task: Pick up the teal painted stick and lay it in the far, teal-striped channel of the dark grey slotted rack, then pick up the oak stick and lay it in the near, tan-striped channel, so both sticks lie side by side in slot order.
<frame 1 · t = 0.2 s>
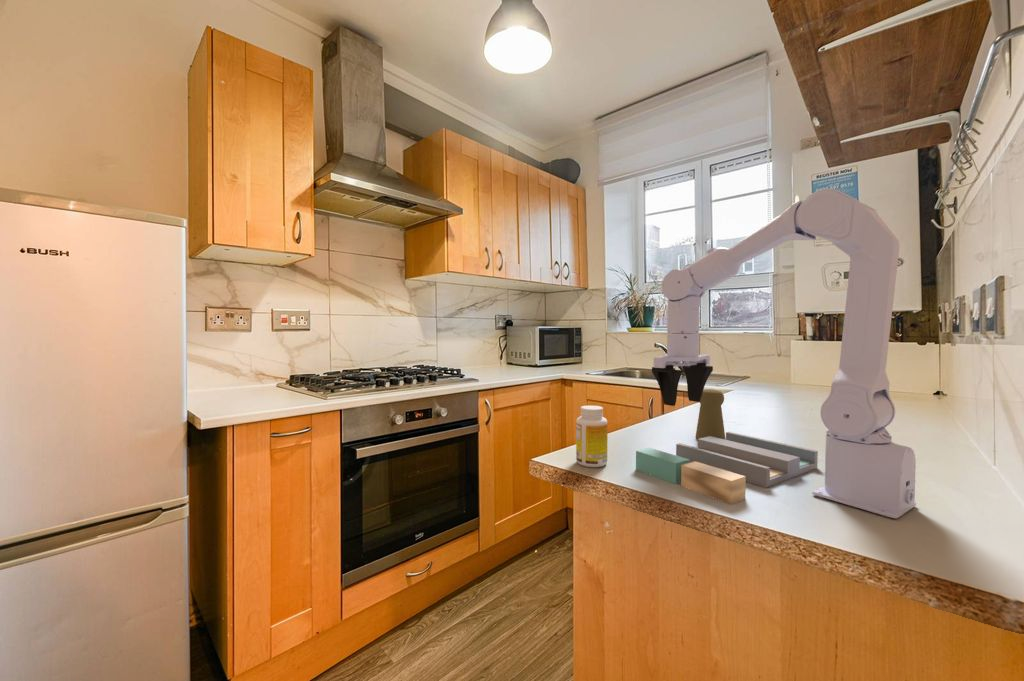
hand: (682, 403, 82), 10 cm above the countertop, tool pointing down, fingers open, 7 cm apart
rack: (744, 463, 75), on the countertop
teal stick: (661, 475, 70), on the countertop
oak stick: (711, 493, 63), on the countertop
supplement bottle: (591, 464, 76), on the countertop
cork: (710, 440, 92), on the countertop
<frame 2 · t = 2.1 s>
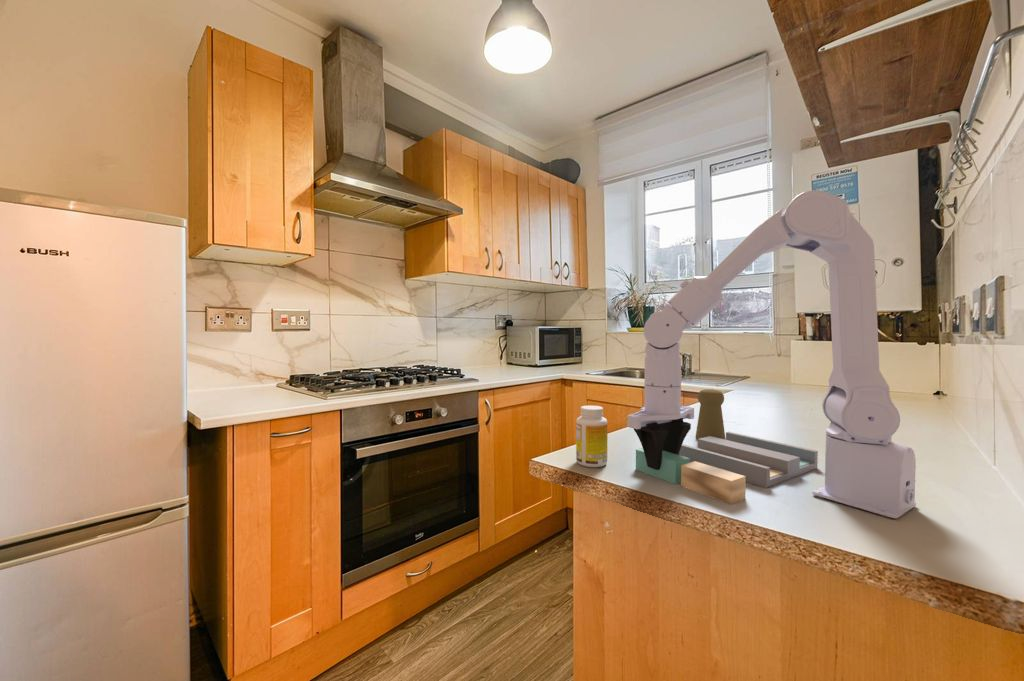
hand: (661, 465, 70), 1 cm above the countertop, tool pointing down, fingers closed on teal stick, 3 cm apart
teal stick: (661, 474, 70), on the countertop, touching gripper
everything else where it was.
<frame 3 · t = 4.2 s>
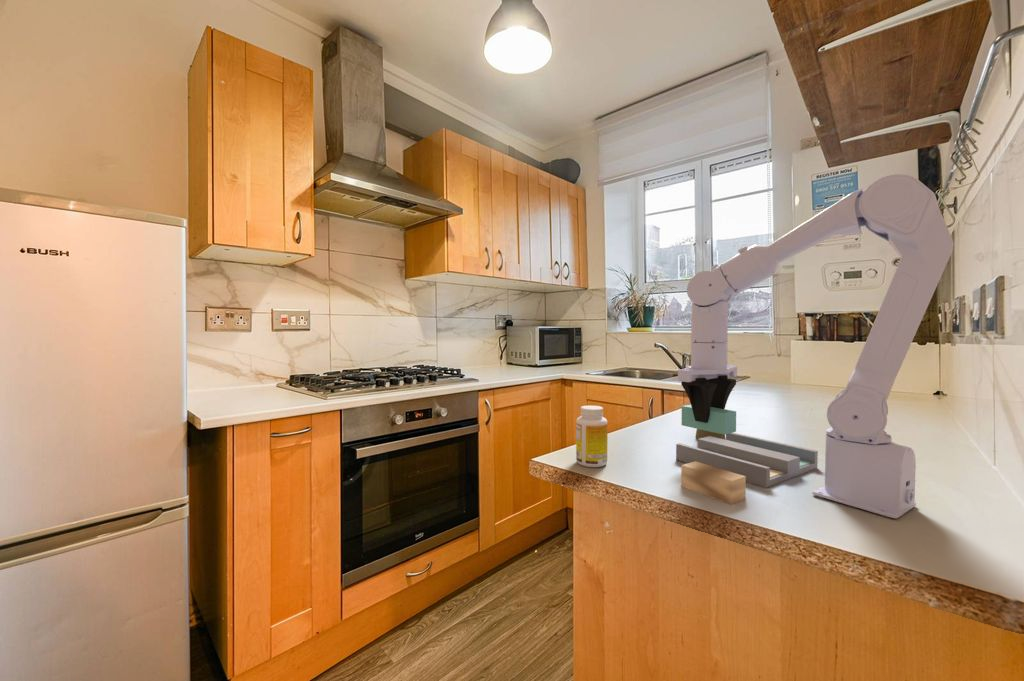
hand: (708, 420, 73), 8 cm above the countertop, tool pointing down, fingers closed on teal stick, 3 cm apart
teal stick: (707, 428, 73), point 7 cm above the countertop, touching gripper
everything else where it was.
when the fingers open (5 cm above the countertop, at t = 6.1 s): teal stick drops 3 cm, resting on rack.
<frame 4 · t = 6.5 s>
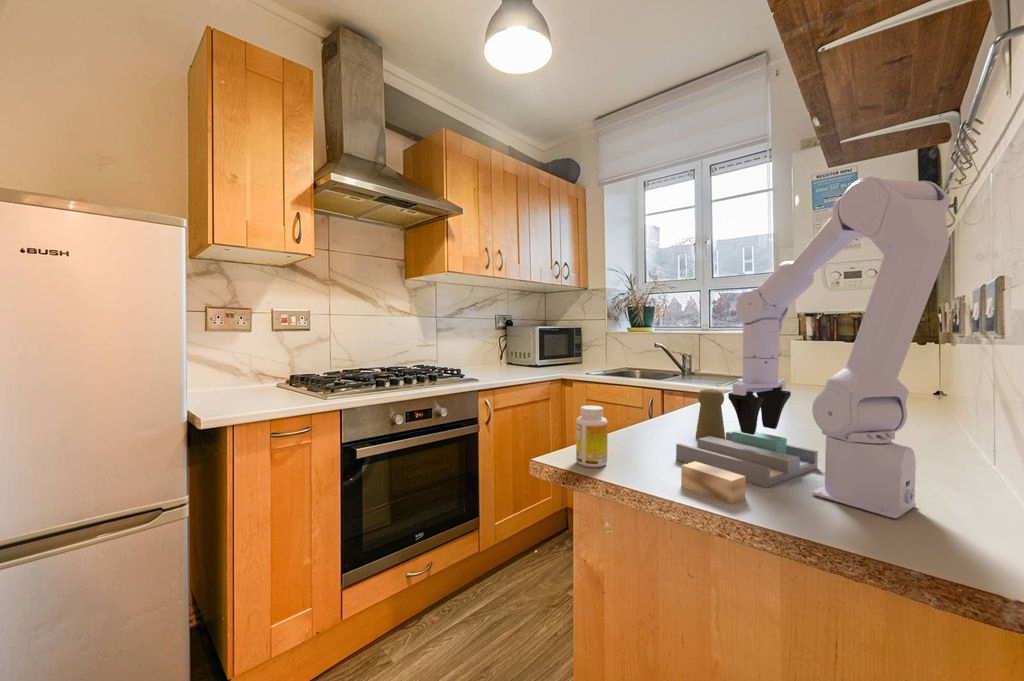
hand: (759, 430, 78), 5 cm above the countertop, tool pointing down, fingers open, 7 cm apart
teal stick: (758, 453, 78), point 1 cm above the countertop, touching rack
everything else where it was.
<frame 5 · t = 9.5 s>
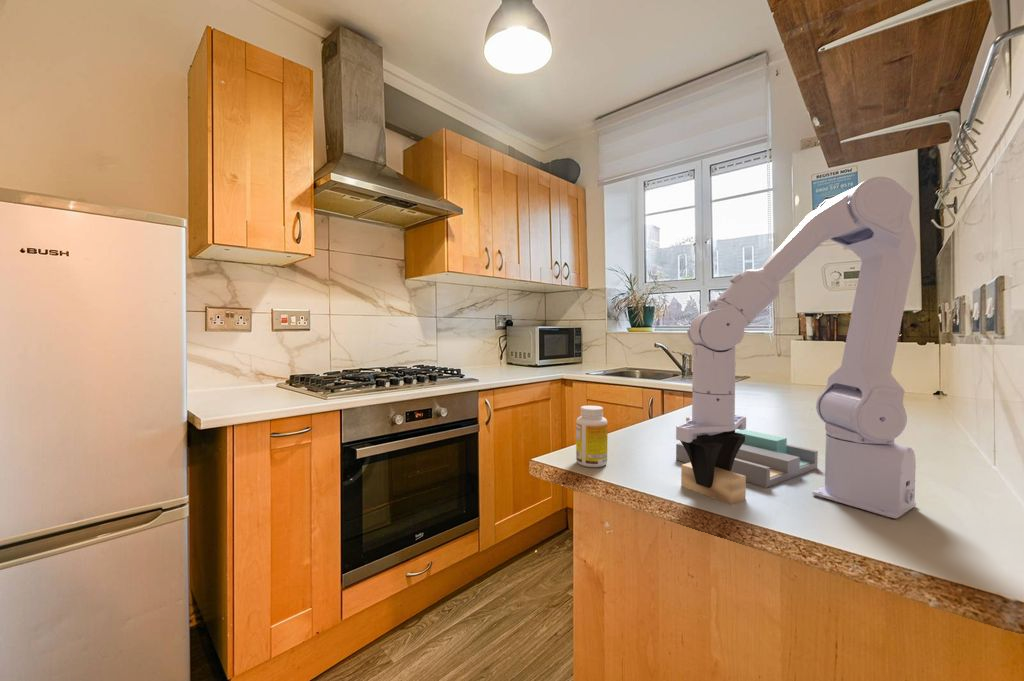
hand: (712, 482, 62), 1 cm above the countertop, tool pointing down, fingers closed on oak stick, 3 cm apart
oak stick: (712, 493, 62), on the countertop, touching gripper
everything else where it was.
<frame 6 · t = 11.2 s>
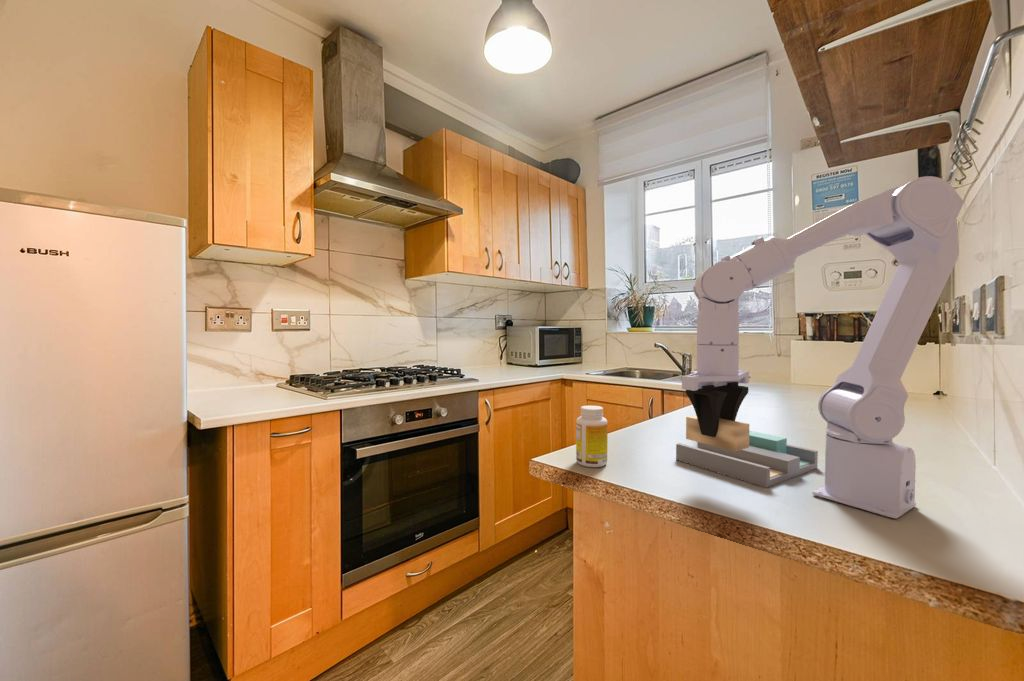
hand: (716, 433, 64), 8 cm above the countertop, tool pointing down, fingers closed on oak stick, 3 cm apart
oak stick: (716, 443, 64), point 7 cm above the countertop, touching gripper
everything else where it was.
when the fingers open (5 cm above the countertop, at t = 12.9 s): oak stick drops 3 cm, resting on rack.
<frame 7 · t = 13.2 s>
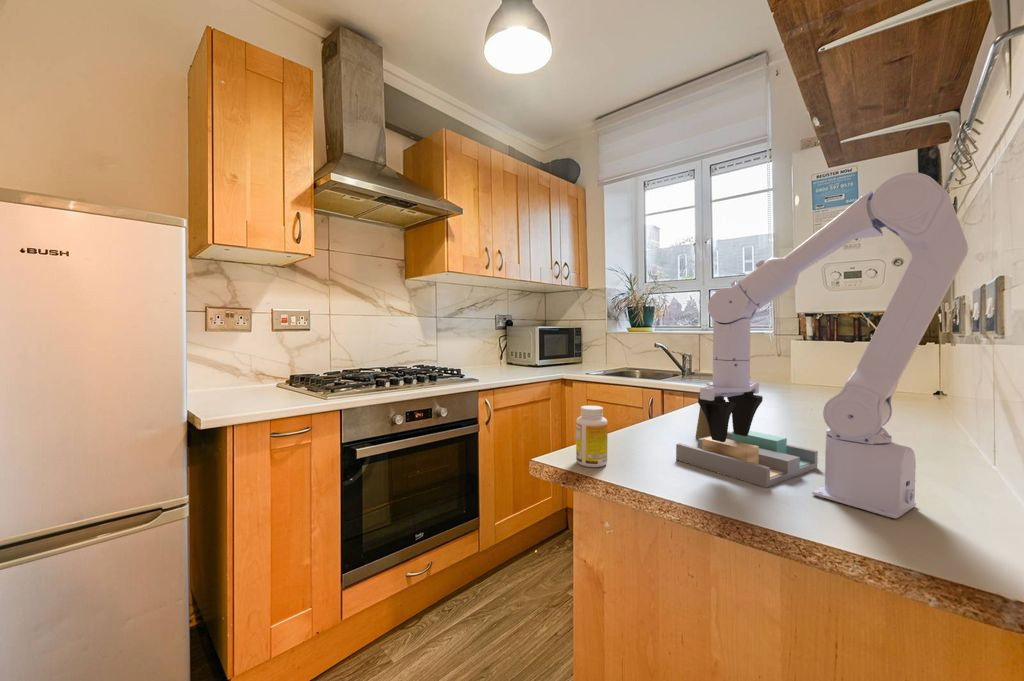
hand: (730, 437, 73), 5 cm above the countertop, tool pointing down, fingers open, 6 cm apart
oak stick: (729, 462, 73), point 1 cm above the countertop, touching rack
everything else where it was.
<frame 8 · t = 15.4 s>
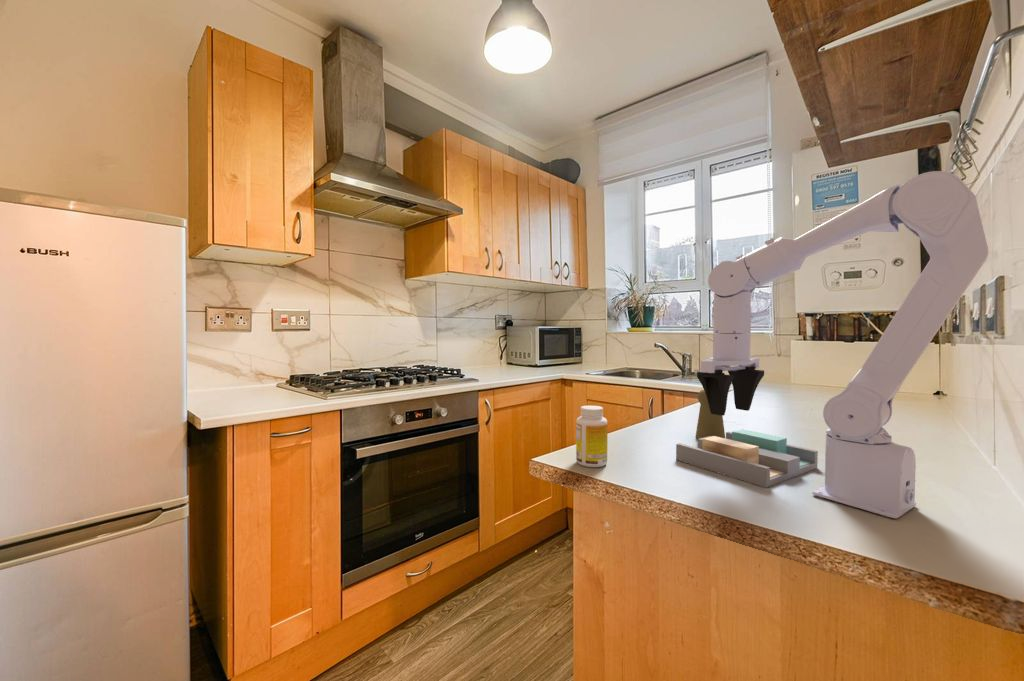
hand: (730, 412, 73), 10 cm above the countertop, tool pointing down, fingers open, 7 cm apart
nothing on the countertop moved.
at the end: teal stick inside the target area on the rack (0.1 cm from its centre), point 1.1 cm above the rack's base; oak stick inside the target area on the rack (0.0 cm from its centre), point 1.1 cm above the rack's base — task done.
